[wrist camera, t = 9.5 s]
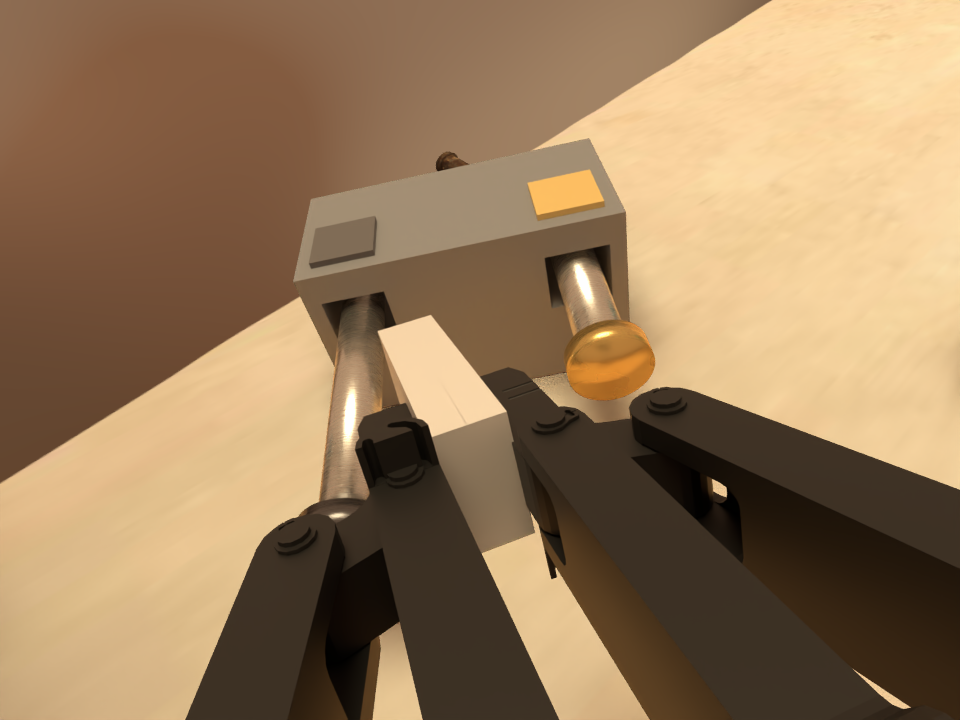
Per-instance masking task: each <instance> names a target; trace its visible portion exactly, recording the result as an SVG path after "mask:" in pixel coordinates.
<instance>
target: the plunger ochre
mask: <svg viewBox="0 0 960 720" xmlns="http://www.w3.org/2000/svg"><path fill="white" fill-rule="evenodd" d="M550 259H551V262H552V265H553V269H554V272H555V275H556V279H557V282H558V286H559V289H560V292H561V296H562V299H563V302H564V306H565V309H566V313H567V316H568V319H569V323H570V326H571V329H572V333H573V337H572V339H571V340H570V341H569V343H568V344H567V346H566V348H565V351H564V364H565V368H566V372H567V375H568V379H569V383H570V385H571V387H572V388H573V390H574V391H575V392H577V393H578V394H579V395H581V396H583V397H585V398H588V399H592V400H612V399H617V398H621V397H624V396H626V395H628V394H631V393H632V392H634V391H636V390H637V389H639V388H640V387H641V386H643V385H644V384H645V383H646V382H647V380H648V379H649V378H650V376H651V375H652V373H653V370H654V367H655V357H654V354H653V351H652V349H651V347H650V344H649V342H648V340H647V337H646V335H645V333H644V332H643V331H642V329H641V328H639V327H638V326H637V325H635V324H633V323H631V322H628V321H624V320H621V318H620V316H619V313H618V311H617V308H616V305H615V303H614V300H613V298H612V295H611V293H610V290H609V288H608V285H607V282H606V280H605V277H604V275H603V272H602V270H601V267H600V265H599V262H598V260H597V257H596V254H595V252H594V249H593V248H590V249H585V250H580V251H575V252H570V253H566V254H561V255H556V256H551V257H550Z"/></svg>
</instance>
